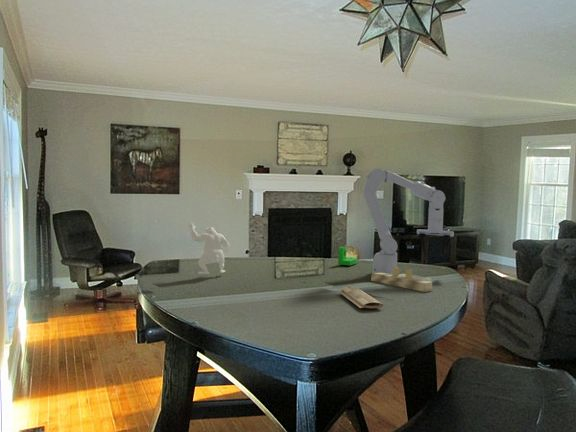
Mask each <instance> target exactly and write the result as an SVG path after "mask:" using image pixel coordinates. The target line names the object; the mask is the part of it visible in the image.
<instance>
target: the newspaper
mask: <svg viewBox="0 0 576 432" xmlns="http://www.w3.org/2000/svg"><path fill="white" fill-rule="evenodd" d="M337 292H338V293H340V295H342V296H343V297H345V298H346V299H347V300H349V301H350V302H352V303H353V304H354V305H355V306H357V307H358V308H360V309H362V308H363V309H364V308H365V309H379V308H383V307H384V303H382V302H381V301H380V300H377V299H376V298H374V297H373V296H371V295H369V294H368V293H366V292H365V291H363V290H361V289H360V288H359V287H356V286H352V285H350V286H347V285H346V286H343V287H341V288H340V290H338V291H337Z"/></svg>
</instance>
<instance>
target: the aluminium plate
mask: <svg viewBox="0 0 576 432" xmlns="http://www.w3.org/2000/svg"><path fill="white" fill-rule="evenodd" d="M399 276H403V277H406V273H399ZM412 278H413V279H419V280H424V281H429V282H432V278H430V277H426V276H425V277H424V276H420V275H415V274H413V277H412ZM432 283H433V282H432Z"/></svg>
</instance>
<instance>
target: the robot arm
mask: <svg viewBox="0 0 576 432" xmlns="http://www.w3.org/2000/svg"><path fill="white" fill-rule="evenodd" d="M383 183H393V184H396V185H398V186H401V187H403V188H406V189H408V190H409V191H410V192H411V194H412V195H414V196H415V197H417V198H420V199H422V200H424V201H428V203H429V204H428V218H427V229H420V228H419V229H418V228H417V229H416V235H418V239H419V240H420V243H421V247H422V252H423V253H427V252H428V241H429V240H428V239H429V236H441V244H442V246H441V255H446V252H447V248H448V246H449V244H450V242H451V240H452V237H455V231H451V230H450V231H449V230H443V228H444V226H443V225H444V203H445V201H446V195H445V193H444V192H443V191H442V190H439V189H436V187H435V186H430V185H428V184H426V183H425V181H422V180H421V181H419V180H417V181H411V180H409V179H407V178H405V177H403V176H402V175H398V174H397V173H395V172H392V171H389V170H386V169H382V168H381V167H376V168H374V169H372V170H371V171H370V172H369V174H368V175H367V176H366V179H365V183H364V187H363V196H364V199H365V202H366V205H367V207H368V210H369V211H370V215H371V217H372V219H373V220H372V221H373V222H374V223H373V224H374V225H375V228H376V231H377V233H378V237H379V240H380V241H379V247H380V249H381V250H380V251H379V252H376V253H375V254H374V255H373V259H372V273H374V272H382V273H387V274H392V267H397V266H398V252H397V251H398V243H397V241H396V240H395V239H394V238H393V235H392V234H391V232H390V229H389V226H388V224H387V221H386V218H385V216H384V213H383V209H382V207H381V204H380V201H379V200H378V197H377V191H378V190H379V188H380V186H381V185H382V184H383Z"/></svg>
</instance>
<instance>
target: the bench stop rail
mask: <svg viewBox="0 0 576 432" xmlns="http://www.w3.org/2000/svg"><path fill="white" fill-rule="evenodd" d="M413 272H414V271H413V269H411V268H410V269H408V268H407V269H405V274H406V277H403V276H399V274H400V267H392V274H387V273H382V272H374V273H373V272H371V274H370V275H371V278H370V281H371V282H376V283H381V284H384V285H390V286H394V287H395V286H396V287H400V288H405V289H409V290H412V291H413V290H414V291H419V292H423V293H424V292H425V293H427V292H432V291H433V282H429V281H424V280H419V279H413V278H412V277H413V275H414V273H413Z"/></svg>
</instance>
